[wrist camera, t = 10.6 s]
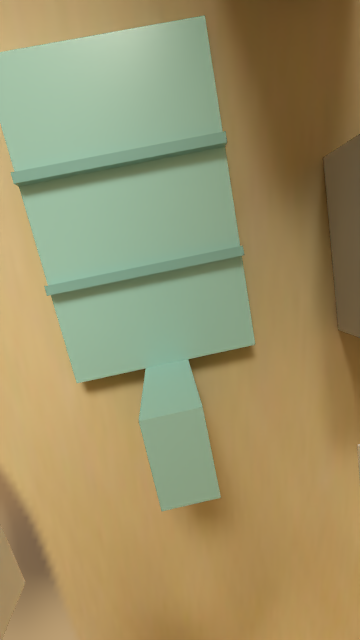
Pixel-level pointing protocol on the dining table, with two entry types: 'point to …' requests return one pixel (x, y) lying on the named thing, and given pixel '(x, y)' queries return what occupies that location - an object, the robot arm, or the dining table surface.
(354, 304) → the tub
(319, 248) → the dining table surface
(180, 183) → the ridged green paddle
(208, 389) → the dining table surface
